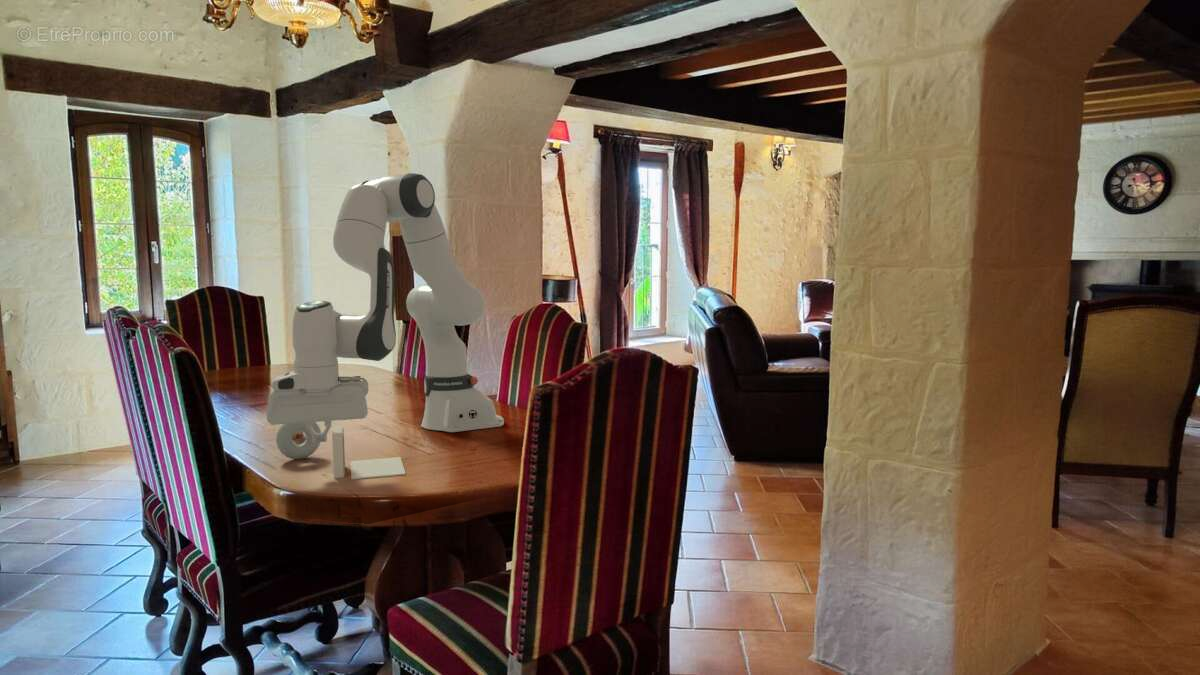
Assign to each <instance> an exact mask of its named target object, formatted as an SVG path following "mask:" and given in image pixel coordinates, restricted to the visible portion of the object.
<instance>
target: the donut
mask: <svg viewBox="0 0 1200 675" xmlns="http://www.w3.org/2000/svg"><path fill="white" fill-rule="evenodd" d="M312 428H313V430H314V431H315V433H321V427H320V426H319V424H318V422H313V427H312ZM297 431H303V433H304V434H305V440H304V441H303V442H302V443H301V444H300V443H299V444H296V443H294V442H293V439H292V436H293V434H294V433H295V432H297ZM275 441H276V442H275V443H276V446H277V448H278V450H279V452H280V453H281V454H282V455H283V456H284V457H286V458H289V459H290V460H291V459H292V460H303V459H306V458H309V457H310V456H311V455H314V453H315V452H316V451H317V450H318V448H319V447H320V444H321V442H315V443H312V435H311V434H310V432H309V431H308V430H307V428H306V423H292V424H281V425H280V427H279V428H278V431H277V433H276V439H275Z"/></svg>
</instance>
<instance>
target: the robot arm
mask: <svg viewBox="0 0 1200 675" xmlns="http://www.w3.org/2000/svg"><path fill="white" fill-rule="evenodd" d="M435 200H436V193H435V188H434V187H433V184H432V183H431V181H430V180H429V179H428V178H427V177H426V176H424V175H423V174H419V173H414V172H413V173H410V172H408V173H405V174H392V175H386V176H384V177H380V178H376V179H375V178H374V179H372V180H364V181H363V182H360V183H358V184H356V185H353V186H352V187H350V188H349V189H348V191H347V192H346V194H345V196H344V199H343V201H342V204H341V205H340V206H341V207H340V210H339V212H338V215H337V218H336V224H335V227H334V231H333V239H332V240H333V241H332V242H333V243H332V244H333V248H334V251H335V253H336V254H337V256H338V257H339V258H340V259H341V260H342V261H343V262H344V263H346V264H347V265H349V266H351V267H352V268H354V269H357V270H359V271H361V272H364V273H365V274H368V275H369V278H370V300H369V302H370V303H369V307H370V308H369V311H368V312H367V313H366V314H357V315H356V314H345V313H344V314H342V313H341V312H338V311H336V310H335V309H334V307H333V304H332V303H331V302H330V301H326V300H314V301H307V302H303V303H300V304H299V305H297V306H296V307H295V309H294V312H293V318H292V347H293V350H294V353H295V358H294V361H293V370H291V371H289V372H286V373H283V374H280V375H277V376H275V377H274V378H273V379H272V381H271V388H272V390H271V393H270V394H269V396H268V399H267V405H266V421H267V423H268V424H269V425H271V426H273V425H282V424H292V423H306V428H307V430H308V431H309V432H310V434H311V435H312V443H315V442H320V443H326V442H328V437H327V436H328V435H327V434H328V433H329V431H330V429H331V428H332V422H333V421H334V422H335V421H345V420H346V421H347V420H350V421H351V420H361V419H362V420H363V419H365V418H366V417H367V416H368V414H369V413H368V412H369V411H368V410H369V409H368V402H367V398H366V396H367V395H368V393H369V382H368V381H367V379H366V378H364V377H361V375H353V376H340V375H339V361H338V358H342V359H361V360H367V361H374V362H380V361H382V360H383V359H385V358H386V357H387V356H388V355H390V354H391V352H392V351H393V350H394V348H395V345H396V342H397V335H396V326H395V325H396V324H395V318H394V317H395V314H394V311H395V268H394V266H395V265H394V261H393V256H392V253H391V252H390V251H389V250H387V249H386V247H385V234H386V229H387V223H395V222H399V226H400V232H401V236H402V240H403V241H404V246H405V248H406V252H407V256H408V259H409V262H410V265H411V268H412V269H413V271H414V273H416V274H417V275H418V276H420V278H422V280H424V282H425V283H426V284H422V285H419V286H415V287H413V288H412V289H411V290H410V291H409V292H408V294H407V297H406V302H405V304H406V305H405V306H406V310H407V312H408V313H409V315H410V316H411V318H413V320H414V321H415V323H416V324H417V328H418V329H419V332H420V334H421V337H422V341H423V345H424V353H425V354H424V355H425V375H424V381H423V382H424V383H423V384H424V395H425V404H424V405H425V406H424V413H423V419H422V421H421V422H422V423H421V424H420V426H421V428H424V429H426V430H431V431H440V432H441V431H443V432H446V433H456V432H457V433H458V432H465V431H474V430H481V429H489V428H490V429H491V428H497V427H502V426H504V425H505V420H504V418H503V417H502V416H501V415H499V414H497V412H496V407H495V404H494V401H493V400H492V399H491V398H490V397H488V395H486V394H484V392H483V391H481V390H480V389H478V388H476V387H475V385H477V384H478V383H479V378H478V377H476V376H473V375H472V374H469V373H468V357H467V356H468V352H467V351H468V350H467V345H466V343H465V342H464V341H463V340H462V339H461V338H460V337H459V335H458V333H457V330H456V328H455V326H459V327H461V326H468V325H472V324H475V323H478V322H479V321H480V320H481V319H482V317H483V316H484V314H485V311H486V301H485V300H486V299H485V297H484V295H483V293H482V292H481V291H480V290H479V289H478V288H476V287H475V286H474V285H473V284H471V282H470V281H469V280H468V279H467V277H466V276H465V274H464V273H463V272H462V270H461V268H460V267H459V265H458V264H457V262H456V260H455V258H454V255H453V252H452V249H451V246H450V242H449V239H448V236H447V233H446V229H445V226H444V223H443V220H442V217H441V215H440V213H439V210H438V208H437V206H436V205H435V202H436V201H435ZM313 422H316V423H319V422H321V423H322V422H324V424H323V425H324V426H325V428H324V430H323V432H321V433H315V431H314V430H313V428H312V427H313Z"/></svg>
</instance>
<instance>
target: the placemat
mask: <svg viewBox="0 0 1200 675" xmlns="http://www.w3.org/2000/svg"><path fill="white" fill-rule="evenodd" d="M405 475H406V471H405V467H404V464H403V460H402V457H401V456H397V457H384V458H369V459H361V460H352V461H350V477H351V478H350V479H351V480H361V479H363V480H364V479H372V478H383V477H396V476H405Z"/></svg>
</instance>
